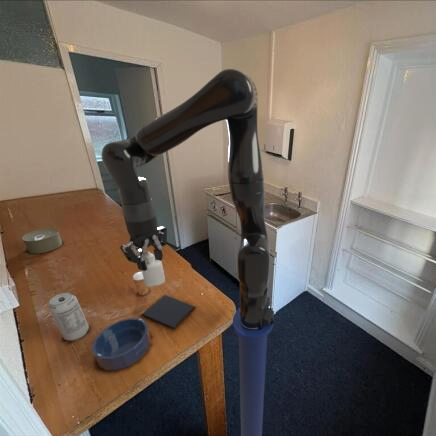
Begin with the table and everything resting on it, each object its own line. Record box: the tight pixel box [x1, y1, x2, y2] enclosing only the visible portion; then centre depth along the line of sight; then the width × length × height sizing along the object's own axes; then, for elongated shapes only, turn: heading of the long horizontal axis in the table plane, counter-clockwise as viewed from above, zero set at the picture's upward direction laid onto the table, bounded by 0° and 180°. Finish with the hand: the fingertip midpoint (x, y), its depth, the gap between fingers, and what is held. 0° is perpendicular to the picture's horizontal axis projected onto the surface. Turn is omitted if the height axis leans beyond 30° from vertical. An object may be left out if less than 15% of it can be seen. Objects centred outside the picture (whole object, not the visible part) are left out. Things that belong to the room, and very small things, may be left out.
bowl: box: [91, 317, 151, 371], centre depth 69 cm, size 13×13×6 cm
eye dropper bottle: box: [141, 250, 166, 288], centre depth 72 cm, size 4×6×12 cm
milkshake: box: [132, 271, 149, 296], centre depth 89 cm, size 4×5×10 cm
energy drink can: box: [48, 292, 90, 341], centre depth 70 cm, size 6×6×15 cm
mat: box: [142, 294, 196, 330], centre depth 84 cm, size 14×10×1 cm
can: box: [21, 228, 63, 254], centre depth 111 cm, size 12×12×7 cm
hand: (151, 264), depth 72 cm, fingers closed on eye dropper bottle, 5 cm apart
